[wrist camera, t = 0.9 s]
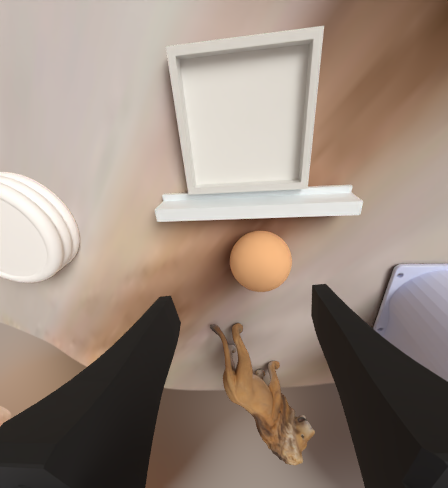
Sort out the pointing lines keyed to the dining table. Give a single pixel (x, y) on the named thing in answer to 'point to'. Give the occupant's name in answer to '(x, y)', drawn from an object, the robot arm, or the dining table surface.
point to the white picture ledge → (260, 204)
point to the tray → (247, 110)
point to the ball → (260, 261)
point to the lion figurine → (264, 401)
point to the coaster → (33, 230)
